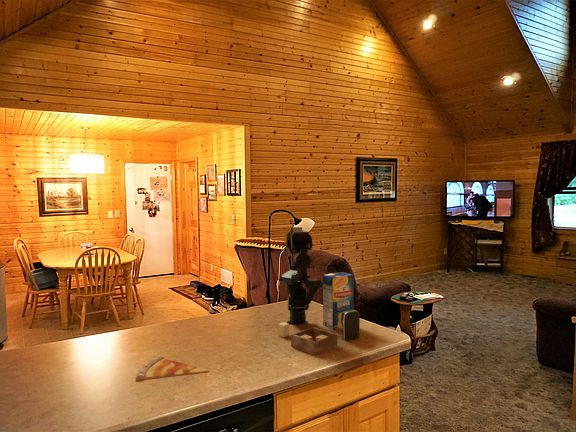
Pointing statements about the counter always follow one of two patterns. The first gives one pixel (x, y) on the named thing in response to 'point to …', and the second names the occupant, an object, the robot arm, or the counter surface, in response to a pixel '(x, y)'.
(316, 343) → the box
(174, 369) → the pizza slice
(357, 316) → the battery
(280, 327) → the lid
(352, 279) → the beverage box
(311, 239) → the robot arm
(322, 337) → the cream block
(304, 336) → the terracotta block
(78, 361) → the counter surface
